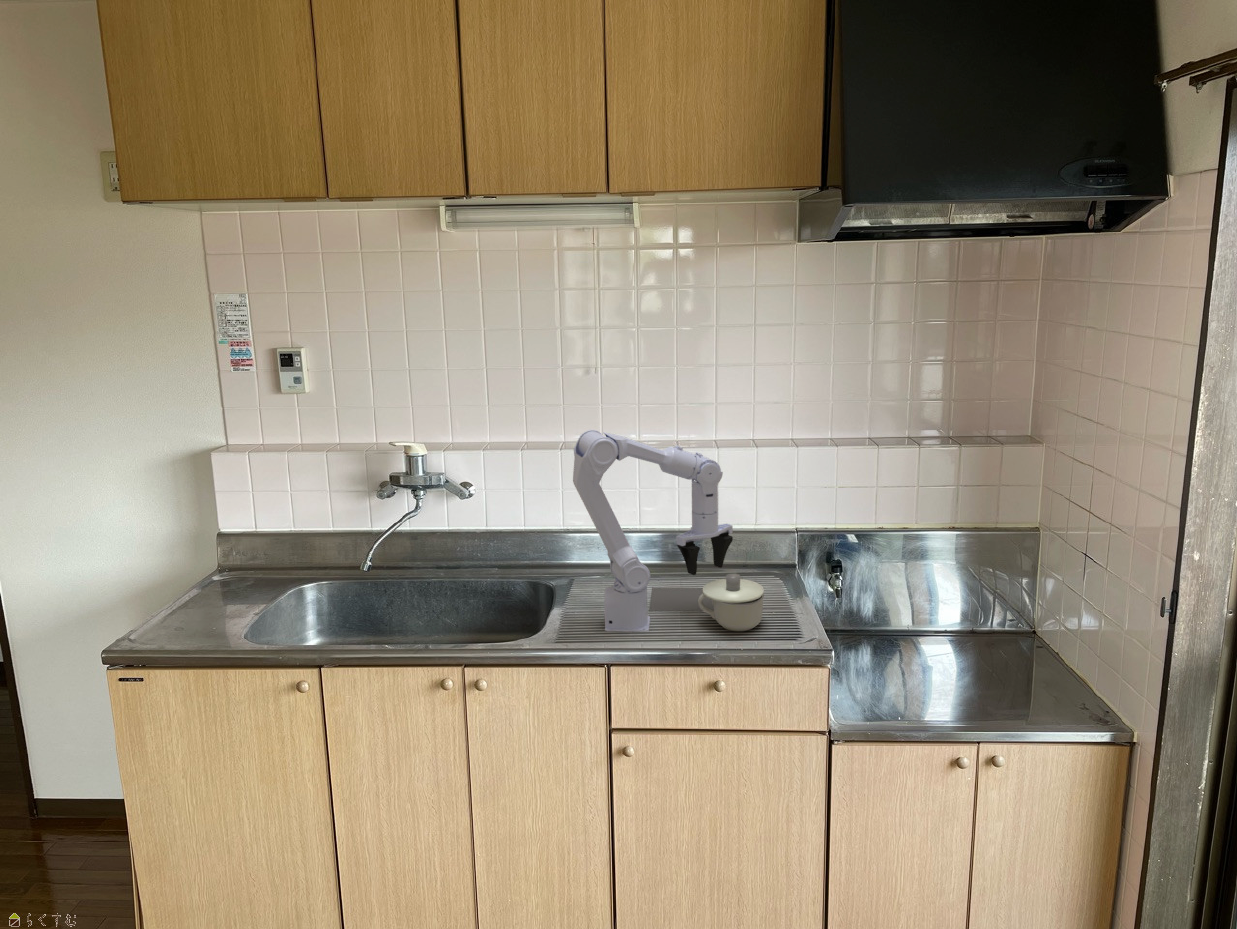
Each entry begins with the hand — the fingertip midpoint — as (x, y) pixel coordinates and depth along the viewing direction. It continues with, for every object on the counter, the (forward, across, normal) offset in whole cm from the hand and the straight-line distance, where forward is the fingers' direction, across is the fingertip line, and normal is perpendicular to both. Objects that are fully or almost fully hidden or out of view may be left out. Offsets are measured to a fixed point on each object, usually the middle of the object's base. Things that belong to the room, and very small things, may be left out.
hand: (705, 570), depth 204 cm
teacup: (+11, 0, +9) cm, 14 cm away
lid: (+2, 0, +9) cm, 9 cm away
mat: (+10, -1, -10) cm, 14 cm away
